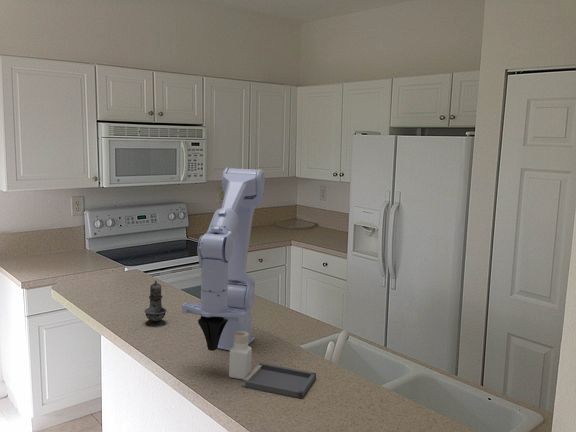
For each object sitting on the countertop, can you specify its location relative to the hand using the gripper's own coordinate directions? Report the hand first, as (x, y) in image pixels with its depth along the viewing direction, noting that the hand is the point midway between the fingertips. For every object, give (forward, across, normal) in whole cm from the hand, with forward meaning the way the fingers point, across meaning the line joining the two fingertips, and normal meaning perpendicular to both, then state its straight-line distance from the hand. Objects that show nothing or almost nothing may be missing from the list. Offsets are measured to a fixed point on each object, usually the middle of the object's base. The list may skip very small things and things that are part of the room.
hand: (212, 348), depth 117 cm
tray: (+5, +16, 0) cm, 16 cm away
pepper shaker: (+5, +7, 0) cm, 8 cm away
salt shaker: (+5, -27, +20) cm, 34 cm away
